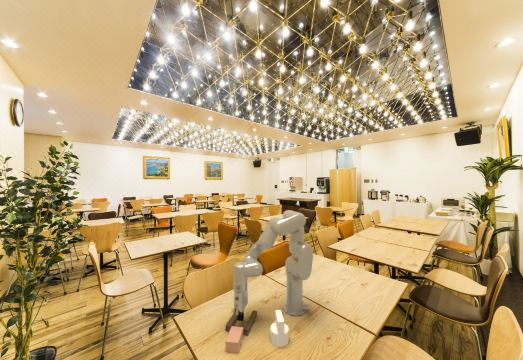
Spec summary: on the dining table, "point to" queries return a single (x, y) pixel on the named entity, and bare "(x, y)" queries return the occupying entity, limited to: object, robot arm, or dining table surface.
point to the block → (234, 339)
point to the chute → (247, 325)
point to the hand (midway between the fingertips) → (240, 320)
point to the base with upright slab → (279, 331)
